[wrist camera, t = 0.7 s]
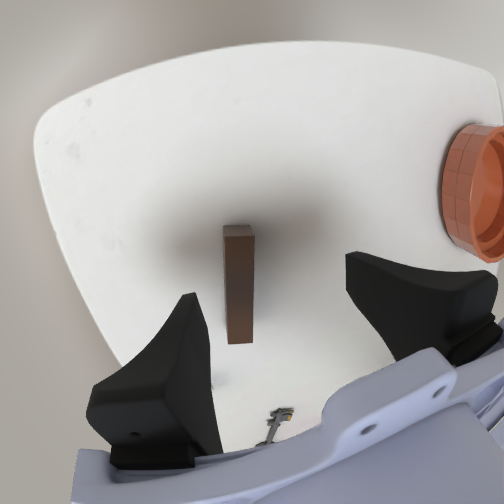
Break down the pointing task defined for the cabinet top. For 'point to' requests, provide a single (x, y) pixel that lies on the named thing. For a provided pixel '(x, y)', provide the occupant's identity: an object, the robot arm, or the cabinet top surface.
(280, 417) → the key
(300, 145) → the cabinet top surface
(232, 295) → the stick
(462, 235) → the bowl
